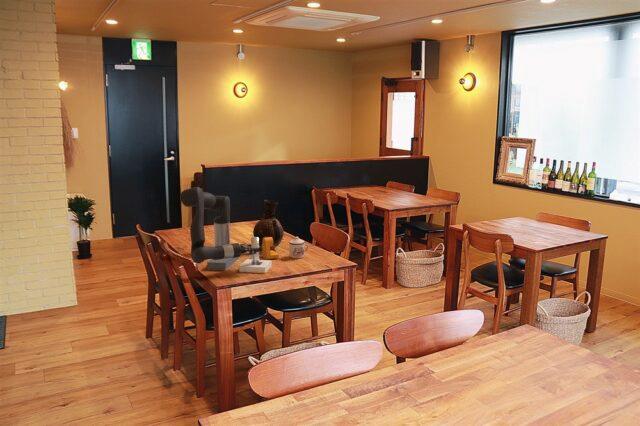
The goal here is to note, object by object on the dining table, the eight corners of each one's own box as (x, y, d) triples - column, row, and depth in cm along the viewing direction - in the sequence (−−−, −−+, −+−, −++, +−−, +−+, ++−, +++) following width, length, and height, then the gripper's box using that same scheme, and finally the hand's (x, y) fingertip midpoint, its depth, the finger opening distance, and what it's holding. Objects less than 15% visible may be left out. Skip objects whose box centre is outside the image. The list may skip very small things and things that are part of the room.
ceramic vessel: (247, 246, 353) (247, 199, 347) (272, 243, 362) (272, 196, 357) (263, 254, 335) (263, 204, 330) (289, 250, 345) (289, 201, 339)
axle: (250, 268, 306) (250, 237, 303) (257, 267, 308) (256, 236, 305) (253, 270, 303) (253, 239, 300) (260, 269, 305) (260, 238, 302)
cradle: (246, 264, 313) (246, 259, 313) (271, 265, 311) (271, 260, 311) (239, 271, 300) (239, 266, 299) (265, 273, 298) (265, 267, 297)
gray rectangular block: (221, 257, 327) (221, 251, 326) (238, 258, 325) (238, 251, 324) (207, 269, 303) (207, 262, 303) (225, 270, 302) (225, 263, 301)
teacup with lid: (292, 259, 324) (292, 239, 322) (286, 255, 332) (286, 236, 330) (311, 257, 329) (311, 237, 327) (305, 253, 337) (305, 234, 335)
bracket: (279, 259, 325) (279, 238, 323) (267, 260, 322) (267, 239, 320) (273, 254, 335) (273, 234, 332) (261, 255, 332) (261, 235, 330)
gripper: (235, 247, 289) (264, 243, 298) (225, 241, 301) (253, 237, 310) (235, 261, 291) (264, 257, 299) (225, 255, 303) (253, 251, 311)
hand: (258, 247), depth 304 cm, fingers open, 8 cm apart
